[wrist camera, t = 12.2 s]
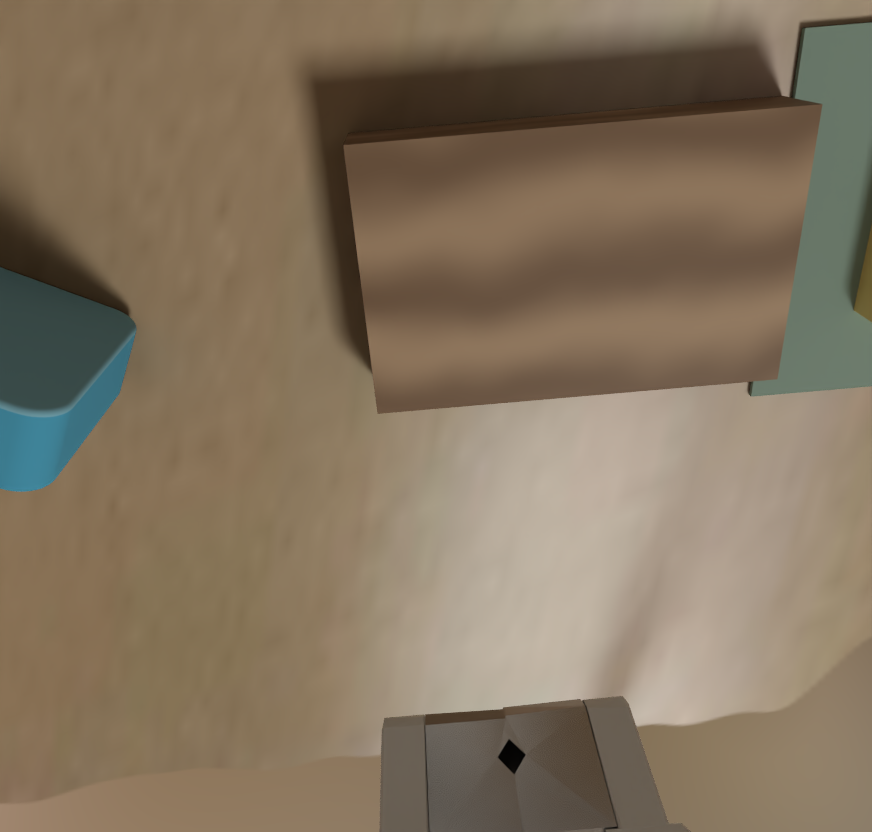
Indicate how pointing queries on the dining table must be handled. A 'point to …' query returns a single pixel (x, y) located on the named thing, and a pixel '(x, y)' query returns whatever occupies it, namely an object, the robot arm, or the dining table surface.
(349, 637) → the dining table surface
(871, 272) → the yellow block
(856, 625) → the dining table surface
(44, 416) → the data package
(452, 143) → the board
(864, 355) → the mat
